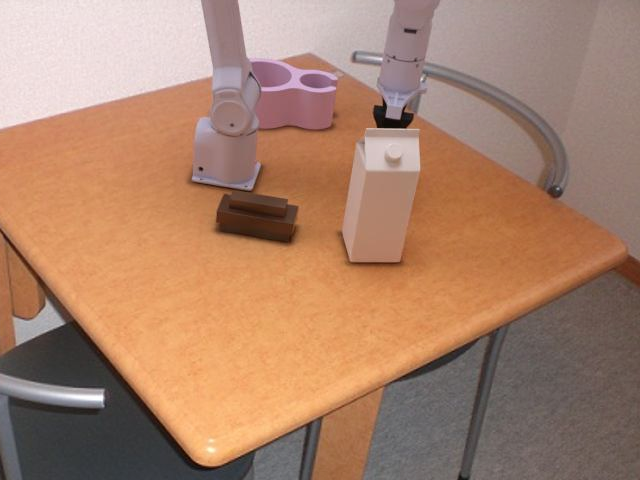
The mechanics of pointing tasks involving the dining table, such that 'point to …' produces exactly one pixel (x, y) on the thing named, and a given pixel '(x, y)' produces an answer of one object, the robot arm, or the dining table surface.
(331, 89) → the clip
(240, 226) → the brush
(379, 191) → the milk carton
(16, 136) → the dining table surface
